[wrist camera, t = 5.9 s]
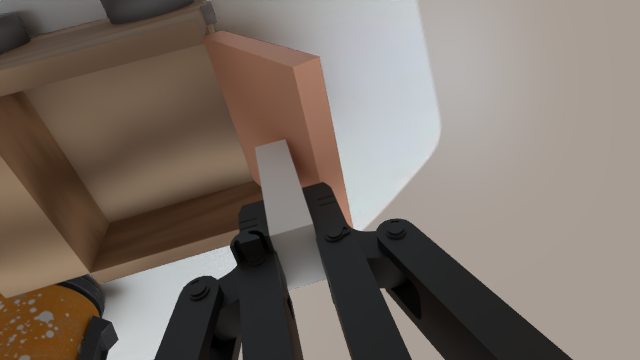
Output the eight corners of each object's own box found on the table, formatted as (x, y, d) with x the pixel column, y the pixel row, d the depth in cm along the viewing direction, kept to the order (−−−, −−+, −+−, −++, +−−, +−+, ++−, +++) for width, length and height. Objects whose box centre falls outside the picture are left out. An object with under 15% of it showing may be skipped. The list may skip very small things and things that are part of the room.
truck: (-63, 30, 24) (-212, 80, 16) (203, -35, 25) (196, -21, 17) (79, 226, 33) (32, 324, 25) (269, 172, 34) (286, 247, 26)
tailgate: (202, 36, 22) (292, 67, 14) (227, 28, 23) (328, 53, 15) (253, 179, 28) (338, 257, 20) (272, 169, 28) (362, 241, 21)
